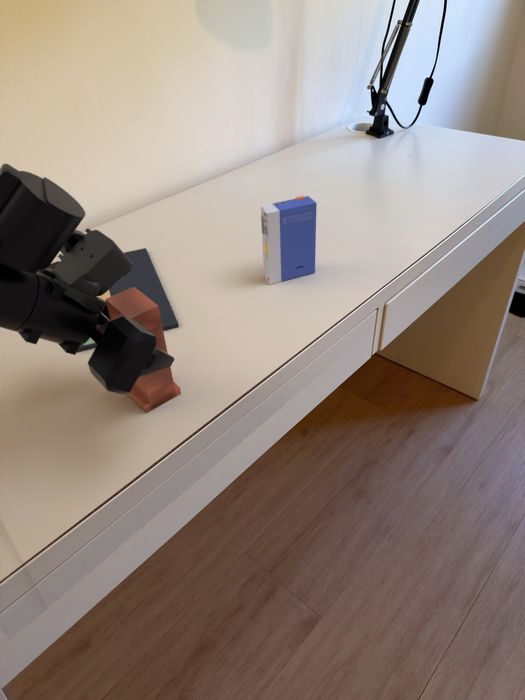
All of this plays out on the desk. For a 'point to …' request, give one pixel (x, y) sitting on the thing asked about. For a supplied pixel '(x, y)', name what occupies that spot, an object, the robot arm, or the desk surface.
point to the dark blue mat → (141, 289)
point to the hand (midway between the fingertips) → (149, 342)
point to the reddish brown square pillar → (157, 384)
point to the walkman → (289, 239)
